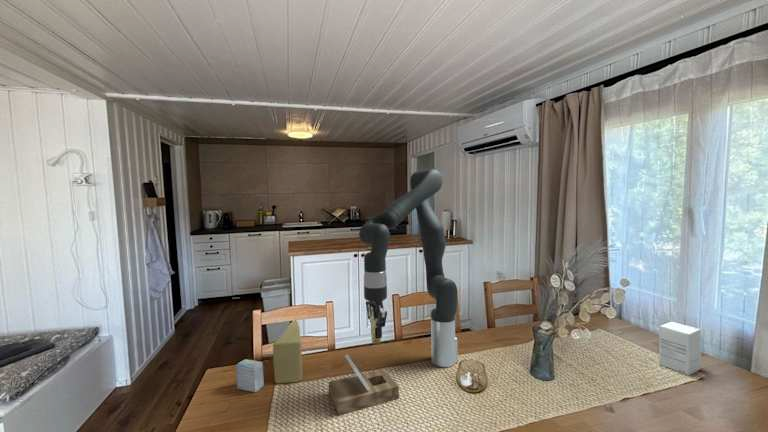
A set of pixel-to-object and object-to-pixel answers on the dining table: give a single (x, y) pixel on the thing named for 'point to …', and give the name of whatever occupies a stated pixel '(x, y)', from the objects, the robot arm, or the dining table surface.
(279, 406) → the dining table surface
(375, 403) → the walnut block
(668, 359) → the supplement box
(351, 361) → the steel flap
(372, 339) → the brass peg
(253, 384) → the medicine box
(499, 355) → the dining table surface
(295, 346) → the cheese
